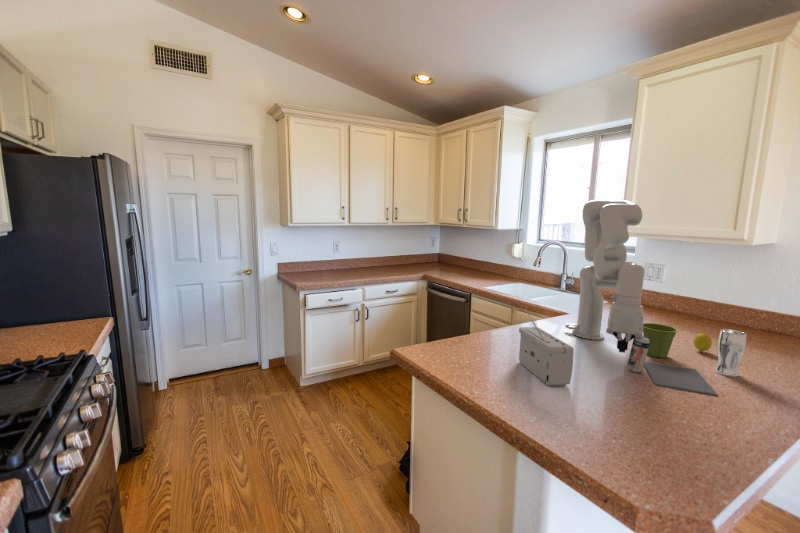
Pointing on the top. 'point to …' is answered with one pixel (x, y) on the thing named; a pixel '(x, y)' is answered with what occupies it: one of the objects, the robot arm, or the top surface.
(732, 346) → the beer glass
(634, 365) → the beer can
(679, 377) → the rubber mat
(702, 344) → the lemon
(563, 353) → the stereo radio cassette player
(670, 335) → the plant pot
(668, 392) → the top surface
